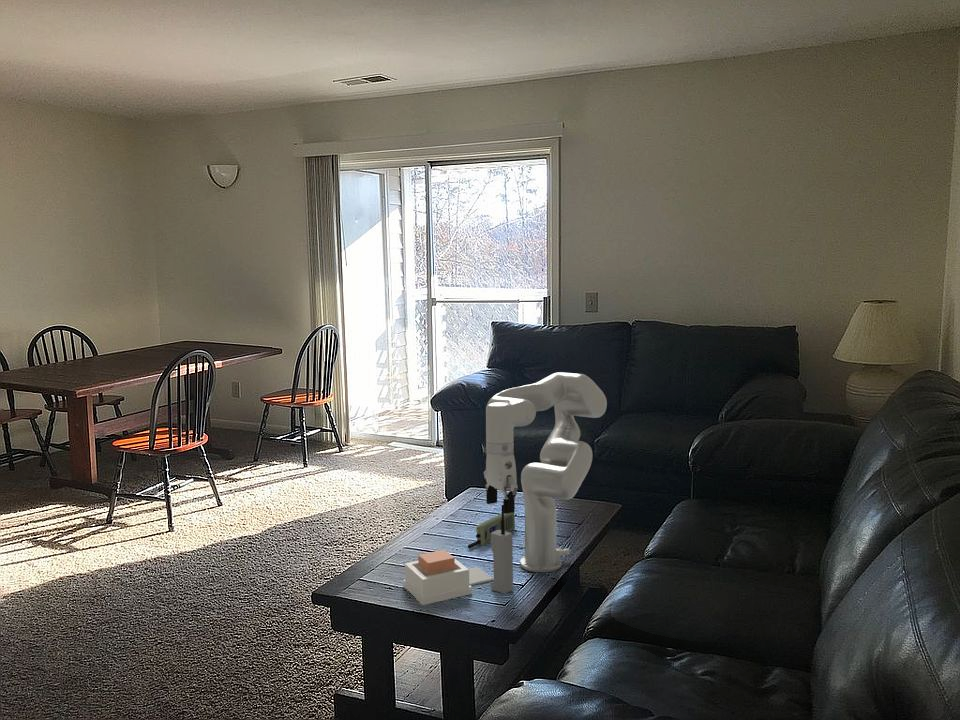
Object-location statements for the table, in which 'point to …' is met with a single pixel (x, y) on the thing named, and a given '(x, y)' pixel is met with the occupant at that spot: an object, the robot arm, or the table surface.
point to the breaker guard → (436, 583)
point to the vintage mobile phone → (502, 559)
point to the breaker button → (436, 561)
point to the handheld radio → (493, 528)
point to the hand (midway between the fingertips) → (500, 507)
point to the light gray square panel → (478, 576)
